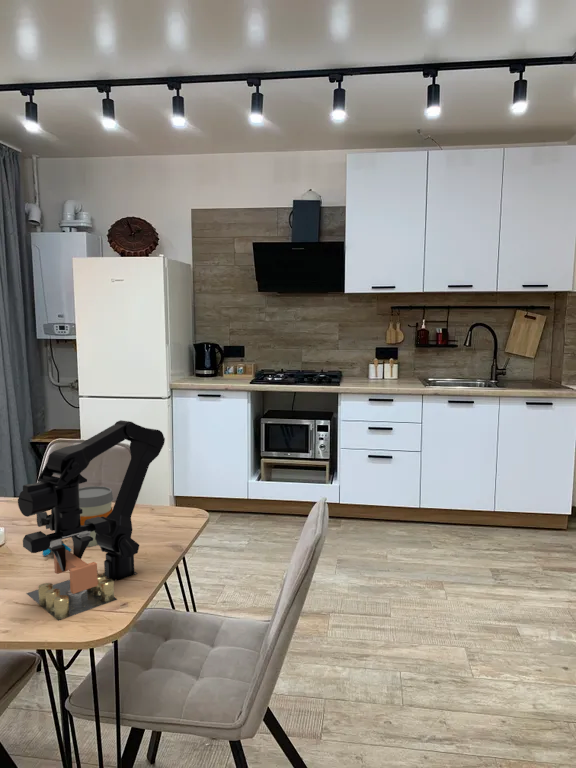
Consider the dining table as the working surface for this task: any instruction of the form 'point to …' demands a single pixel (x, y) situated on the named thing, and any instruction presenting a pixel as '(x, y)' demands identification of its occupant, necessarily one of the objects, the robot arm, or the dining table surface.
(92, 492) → the reusable coffee cup
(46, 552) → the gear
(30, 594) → the plate
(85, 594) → the nut
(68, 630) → the dining table surface
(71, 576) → the copper l-bar
